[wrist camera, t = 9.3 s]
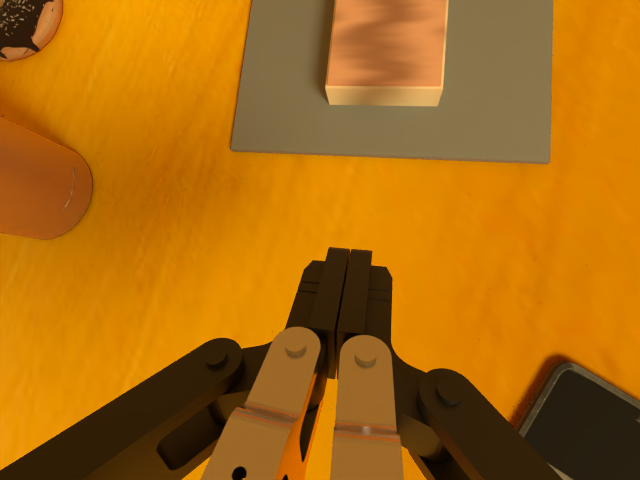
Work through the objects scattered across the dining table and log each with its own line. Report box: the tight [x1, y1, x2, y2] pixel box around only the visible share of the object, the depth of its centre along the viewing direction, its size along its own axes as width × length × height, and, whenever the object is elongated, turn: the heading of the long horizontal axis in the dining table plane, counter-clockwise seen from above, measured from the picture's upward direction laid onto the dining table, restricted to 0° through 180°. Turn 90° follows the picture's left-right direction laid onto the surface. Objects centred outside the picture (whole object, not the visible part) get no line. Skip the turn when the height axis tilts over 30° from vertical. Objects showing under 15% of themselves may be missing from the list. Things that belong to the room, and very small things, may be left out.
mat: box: [230, 0, 553, 164], centre depth 31 cm, size 26×16×1 cm, turn 84°
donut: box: [0, 0, 63, 61], centre depth 37 cm, size 11×12×4 cm
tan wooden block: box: [325, 0, 449, 106], centre depth 29 cm, size 9×3×11 cm
